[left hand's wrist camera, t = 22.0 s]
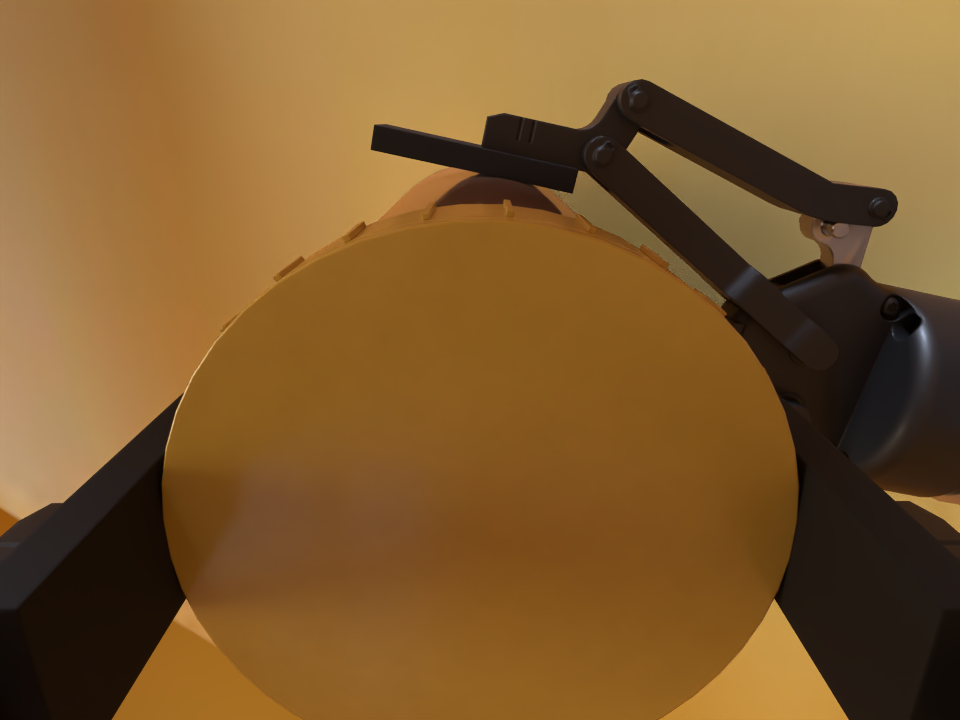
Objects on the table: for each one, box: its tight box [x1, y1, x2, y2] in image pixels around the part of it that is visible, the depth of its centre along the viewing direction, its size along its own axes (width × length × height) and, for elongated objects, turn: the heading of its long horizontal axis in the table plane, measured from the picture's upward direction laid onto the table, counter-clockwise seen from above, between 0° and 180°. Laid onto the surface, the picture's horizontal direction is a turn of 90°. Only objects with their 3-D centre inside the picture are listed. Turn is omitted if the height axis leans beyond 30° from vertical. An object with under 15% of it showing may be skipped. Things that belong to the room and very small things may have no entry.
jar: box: [378, 167, 576, 221], centre depth 20 cm, size 9×9×19 cm
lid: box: [162, 200, 799, 720], centre depth 11 cm, size 10×10×2 cm
